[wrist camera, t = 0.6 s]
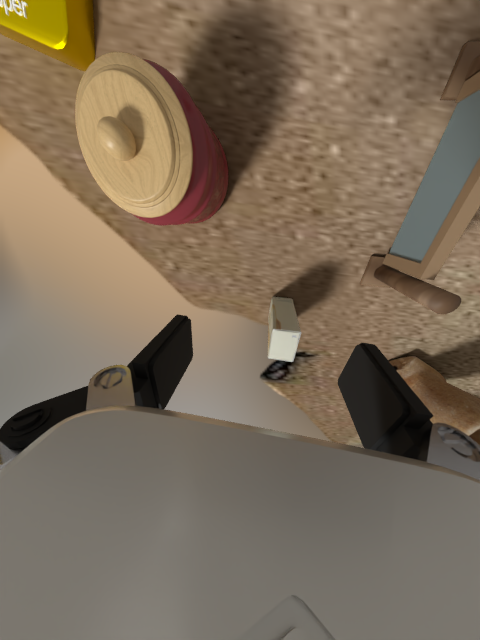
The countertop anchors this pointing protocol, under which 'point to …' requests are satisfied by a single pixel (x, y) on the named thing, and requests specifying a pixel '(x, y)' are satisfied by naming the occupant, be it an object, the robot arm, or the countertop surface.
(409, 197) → the countertop surface
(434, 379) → the stone cup
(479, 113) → the panel
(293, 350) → the skincare box
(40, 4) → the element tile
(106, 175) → the canister
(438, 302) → the gate frame
